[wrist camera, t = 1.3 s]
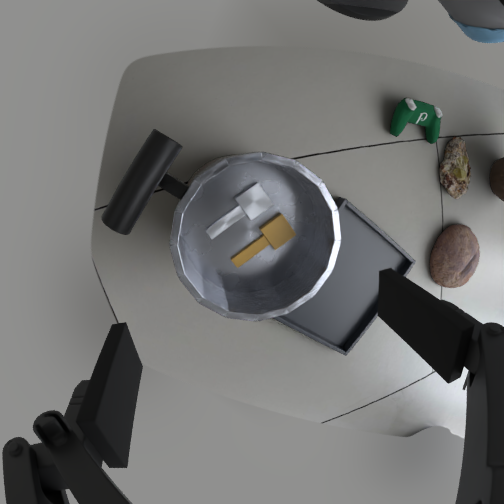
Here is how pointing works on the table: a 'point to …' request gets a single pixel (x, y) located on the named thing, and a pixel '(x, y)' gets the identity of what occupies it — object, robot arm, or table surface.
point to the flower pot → (497, 178)
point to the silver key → (242, 209)
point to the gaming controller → (417, 118)
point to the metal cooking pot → (236, 228)
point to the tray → (350, 283)
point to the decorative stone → (454, 256)
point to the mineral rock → (455, 168)
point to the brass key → (267, 239)
